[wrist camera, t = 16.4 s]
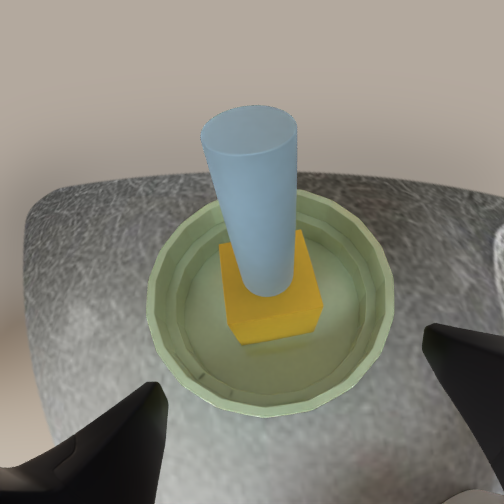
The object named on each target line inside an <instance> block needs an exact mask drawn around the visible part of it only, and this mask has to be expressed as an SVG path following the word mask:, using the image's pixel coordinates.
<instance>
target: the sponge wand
mask: <svg viewBox="0 0 504 504" xmlns="http://www.w3.org/2000/svg"><path fill="white" fill-rule="evenodd" d="M200 138H201V143H202V146H203V150H204V153H205V157H206V160H207V164H208V167H209V171H210V174H211V178H212V181H213V184H214V188H215V191H216V195H217V198H218V201H219V205H220V208H221V212H222V215H223V218H224V222H225V225H226V228H227V231H228V235H229V238H230V241H231V242H229V243H223V244H219V254H220V264H221V274H222V283H223V292H224V301H225V309H226V318H227V325H228V326H229V328H230V329H231V331H232V332H233V334H234V335H235V337H236V338H237V340H238V341H239V343H240V344H241V345H248V344H254V343H260V342H266V341H271V340H277V339H282V338H287V337H292V336H297V335H302V334H306V333H311V332H314V330H315V327H316V325H317V322H318V320H319V317H320V315H321V312H322V309H323V302H322V298H321V295H320V291H319V287H318V284H317V280H316V277H315V273H314V270H313V267H312V263H311V260H310V257H309V253H308V250H307V247H306V243H305V240H304V237H303V234H302V231H301V229H300V230H296V199H297V124H296V121H295V120H294V118H293V117H292V116H291V115H290V114H288V113H287V112H285V111H283V110H281V109H278V108H275V107H270V106H261V105H252V106H242V107H237V108H234V109H230V110H227V111H225V112H222V113H220V114H218V115H216V116H215V117H213V118H212V119H210V120H209V121H208V122H207V123H206V124H205V126H204V127H203V129H202V131H201V137H200Z"/></svg>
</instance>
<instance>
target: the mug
mask: <svg viewBox="0 0 504 504" xmlns="http://www.w3.org/2000/svg"><path fill="white" fill-rule="evenodd" d="M442 504H504V495H501V494H496V493H491V492H488V491H484V490H477V489H474V490H467V491H464V492H461V493H459V494H457V495H455V496H453V497H451V498H450V499H448V500H447V501H445V502H444V503H442Z"/></svg>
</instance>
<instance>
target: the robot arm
mask: <svg viewBox="0 0 504 504" xmlns="http://www.w3.org/2000/svg"><path fill="white" fill-rule="evenodd" d="M422 351H423V353H424V355H425V357H426V359H427V360H428V362H429V364H430V366H431V368H432V369H433V371H434V373H435V375H436V377H437V379H438V380H439V382H440V384H441V385H442V387H443V388H444V390H445V391H446V393H447V394H448V396H449V397H450V399H451V400H452V402H453V403H454V405H455V406H456V408H457V409H458V411H459V412H460V414H461V415H462V417H463V419H464V420H465V422H466V423H467V425H468V427H469V428H470V430H471V432H472V433H473V435H474V436H475V438H476V440H477V442H478V443H479V445H480V447H481V448H482V450H483V452H484V454H485V455H486V457H487V459H488V461H489V463H490V464H491V467H492V469H493V470H494V472H495V474H496V476H497V478H498V480H499V482H500V484H501V486H502V488H503V490H504V336H499V335H493V334H488V333H483V332H477V331H472V330H467V329H462V328H457V327H452V326H447V325H442V324H438V323H433V324H431V325H428V326H426V327H425V329H424V335H423V342H422ZM167 416H168V400H167V398H166V396H165V394H164V391H163V389H162V387H161V385H160V384H159V383H158V382H146V383H145V384H143V385H142V386H141V387H139V388H138V389H137V390H135V391H134V392H133V393H131V394H130V395H129V396H127V397H126V398H124V399H123V400H122V401H120V402H119V403H118V404H116V405H115V406H114V407H112V408H111V409H109V410H108V411H107V412H105V413H104V414H102V415H101V416H100V417H98V418H97V419H95V420H94V421H93V422H91V423H90V424H88V425H87V426H85V427H84V428H83V429H81V430H80V431H78V432H77V433H76V434H75V435H72V436H71V437H69V438H68V439H67V440H65V441H63V442H62V443H60V444H59V445H57V446H56V447H54V448H52V449H50V450H49V451H47V452H45V453H43V454H41V455H39V456H37V457H36V458H33V459H31V460H29V461H28V462H25V463H23V464H21V465H19V466H16V467H12V468H1V467H0V504H154V503H155V497H156V491H157V486H158V480H159V474H160V469H161V463H162V458H163V453H164V448H165V441H166V429H167Z"/></svg>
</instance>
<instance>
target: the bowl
mask: <svg viewBox="0 0 504 504" xmlns="http://www.w3.org/2000/svg"><path fill="white" fill-rule="evenodd" d="M300 229H301V231H302V234H303V237H304V240H305V243H306V247H307V250H308V253H309V257H310V260H311V263H312V267H313V270H314V273H315V277H316V280H317V284H318V287H319V291H320V295H321V298H322V302H323V309H322V312H321V315H320V317H319V320H318V322H317V325H316V327H315V330H314V332H311V333H306V334H302V335H297V336H292V337H287V338H282V339H277V340H271V341H266V342H260V343H254V344H248V345H241V344H240V343H239V341H238V340H237V338H236V337H235V335H234V334H233V332H232V331H231V329H230V328H229V326H228V325H227V318H226V309H225V301H224V292H223V283H222V274H221V264H220V254H219V244H223V243H229V242H231V241H230V238H229V235H228V231H227V228H226V225H225V222H224V218H223V215H222V212H221V208H220V205H219V201H218V200H216V201H214V202H211V203H209V204H207V205H205V206H204V207H203V208H201V209H200V210H199V211H197V212H196V213H195V214H193V215H192V216H191V217H189V218H188V219H187V220H185V221H184V222H183V223H181V224H180V225H179V227H178V228H177V229H176V230H175V232H174V233H173V234H172V235H171V237H170V238H169V239H168V241H167V242H166V243H165V244H164V246H163V247H162V248H161V250H160V252H159V254H158V257H157V259H156V262H155V264H154V267H153V269H152V272H151V274H150V277H149V280H148V289H147V306H146V318H147V322H148V325H149V329H150V332H151V336H152V339H153V342H154V346H155V349H156V351H157V354H158V355H159V356H160V358H161V359H162V360H163V362H164V363H165V365H166V366H167V367H168V369H169V370H170V371H171V373H172V374H173V375H174V377H175V378H176V379H177V380H178V382H179V383H180V384H181V385H182V386H183V387H185V388H186V389H188V390H189V391H191V392H193V393H194V394H196V395H197V396H199V397H200V398H202V399H203V400H205V401H207V402H208V403H210V404H212V405H213V406H215V407H217V408H219V409H223V410H227V411H231V412H236V413H240V414H245V415H250V416H256V417H261V418H264V417H265V418H269V417H276V416H283V415H290V414H296V413H302V412H307V411H311V410H314V409H316V408H318V407H320V406H322V405H324V404H325V403H327V402H329V401H331V400H333V399H334V398H336V397H338V396H340V395H341V394H343V393H345V392H346V391H348V390H350V389H351V388H352V387H354V386H355V385H356V383H357V382H358V381H359V380H360V379H361V378H362V376H363V375H364V374H365V373H366V372H367V371H368V369H369V368H370V367H371V366H372V365H373V363H374V362H375V361H376V360H377V358H378V357H379V356H380V354H381V352H382V350H383V347H384V344H385V342H386V339H387V336H388V333H389V330H390V327H391V324H392V321H393V318H394V280H393V275H392V272H391V270H390V267H389V264H388V262H387V259H386V256H385V254H384V251H383V249H382V246H381V245H380V243H379V242H378V241H377V240H376V238H375V237H374V236H373V235H372V233H371V232H370V231H369V230H368V228H367V227H366V226H365V225H364V224H363V222H362V221H361V220H359V218H357V217H356V216H355V215H353V214H352V213H350V212H349V211H347V210H346V209H344V208H343V207H342V206H340V205H339V204H337V203H336V202H334V201H332V200H330V199H327V198H325V197H322V196H319V195H316V194H313V193H310V192H307V191H304V190H299V189H297V199H296V230H300Z"/></svg>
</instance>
